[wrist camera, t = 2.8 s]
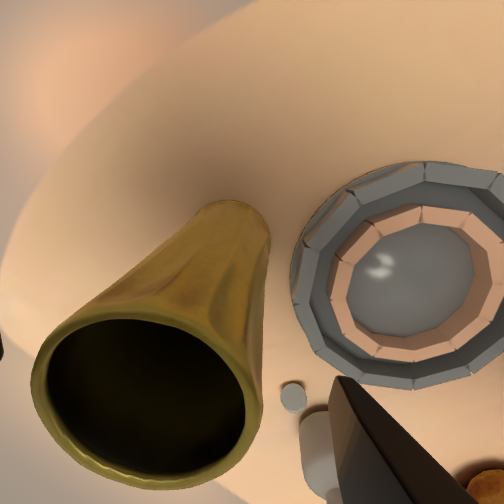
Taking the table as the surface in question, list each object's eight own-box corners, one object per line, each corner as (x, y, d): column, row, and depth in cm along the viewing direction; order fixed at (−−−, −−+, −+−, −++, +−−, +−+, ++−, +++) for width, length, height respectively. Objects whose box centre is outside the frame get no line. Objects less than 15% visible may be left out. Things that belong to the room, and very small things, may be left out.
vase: (220, 293, 21) (133, 530, 7) (171, 230, 19) (-51, 374, 6) (286, 253, 19) (334, 448, 6) (239, 182, 18) (159, 222, 5)
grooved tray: (564, 178, 17) (610, 180, 15) (469, 380, 22) (492, 405, 20) (312, 146, 17) (319, 142, 15) (274, 353, 22) (275, 375, 20)
